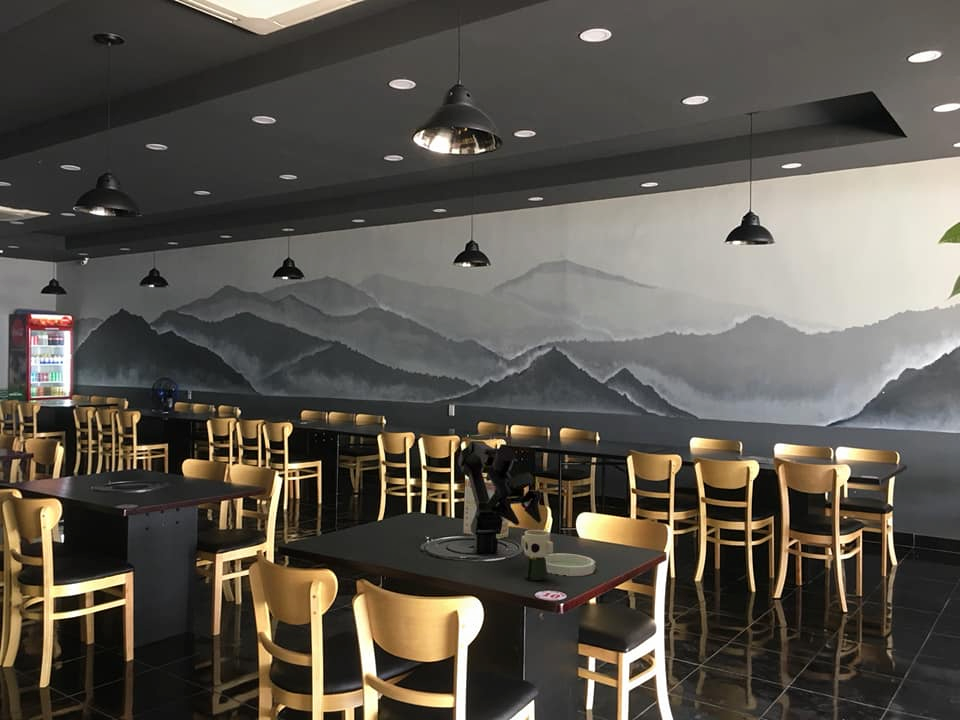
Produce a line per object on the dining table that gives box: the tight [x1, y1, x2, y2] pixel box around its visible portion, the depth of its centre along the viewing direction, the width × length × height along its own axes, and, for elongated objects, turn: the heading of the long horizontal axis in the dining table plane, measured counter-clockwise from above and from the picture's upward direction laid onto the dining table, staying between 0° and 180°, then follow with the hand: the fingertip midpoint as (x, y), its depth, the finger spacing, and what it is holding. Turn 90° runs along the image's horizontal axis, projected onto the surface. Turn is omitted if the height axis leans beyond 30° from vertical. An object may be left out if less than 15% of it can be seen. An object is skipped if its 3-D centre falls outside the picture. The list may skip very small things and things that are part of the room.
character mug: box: [520, 529, 554, 581], centre depth 211 cm, size 11×7×13 cm, turn 48°
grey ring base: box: [544, 553, 596, 577], centre depth 223 cm, size 16×16×2 cm
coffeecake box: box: [462, 477, 510, 540], centre depth 266 cm, size 15×7×20 cm, turn 54°
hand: (529, 523), depth 219 cm, fingers open, 9 cm apart
